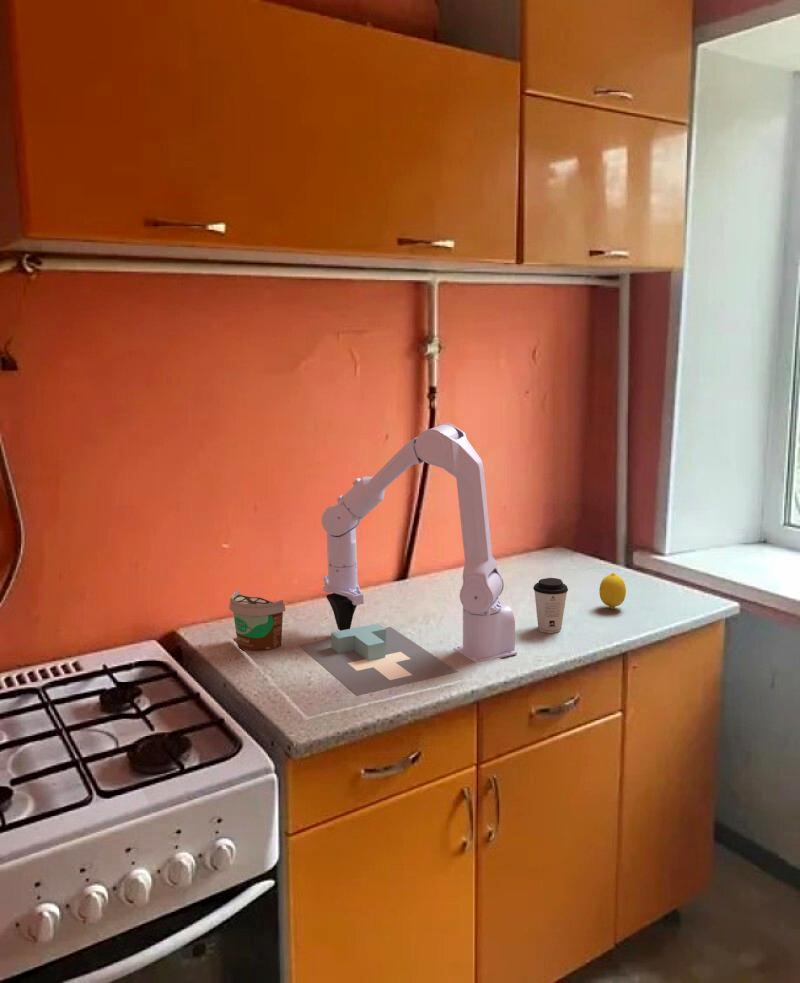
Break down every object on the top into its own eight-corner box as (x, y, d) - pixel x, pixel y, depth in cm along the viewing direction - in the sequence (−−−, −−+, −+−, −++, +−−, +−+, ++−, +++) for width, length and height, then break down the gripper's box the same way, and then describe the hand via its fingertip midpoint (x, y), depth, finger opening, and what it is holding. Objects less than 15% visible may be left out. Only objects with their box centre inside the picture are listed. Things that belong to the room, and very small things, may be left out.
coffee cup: (559, 637, 175) (560, 589, 173) (526, 631, 179) (527, 583, 177) (572, 626, 181) (573, 579, 179) (540, 620, 184) (541, 574, 182)
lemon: (600, 603, 195) (601, 568, 193) (626, 606, 193) (628, 570, 191) (597, 611, 189) (598, 575, 188) (623, 614, 188) (625, 578, 186)
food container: (217, 647, 172) (215, 598, 170) (240, 637, 177) (237, 589, 175) (265, 660, 165) (263, 609, 163) (287, 650, 170) (285, 600, 168)
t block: (377, 637, 175) (377, 623, 174) (400, 654, 166) (400, 638, 166) (331, 647, 170) (330, 632, 169) (352, 664, 162) (352, 649, 161)
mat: (390, 629, 181) (390, 626, 181) (457, 674, 158) (458, 671, 158) (298, 647, 171) (298, 645, 171) (356, 698, 149) (356, 695, 149)
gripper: (309, 557, 178) (311, 621, 181) (338, 576, 166) (340, 644, 168) (341, 552, 181) (342, 615, 184) (372, 570, 169) (374, 637, 172)
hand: (344, 629), depth 176 cm, fingers closed
